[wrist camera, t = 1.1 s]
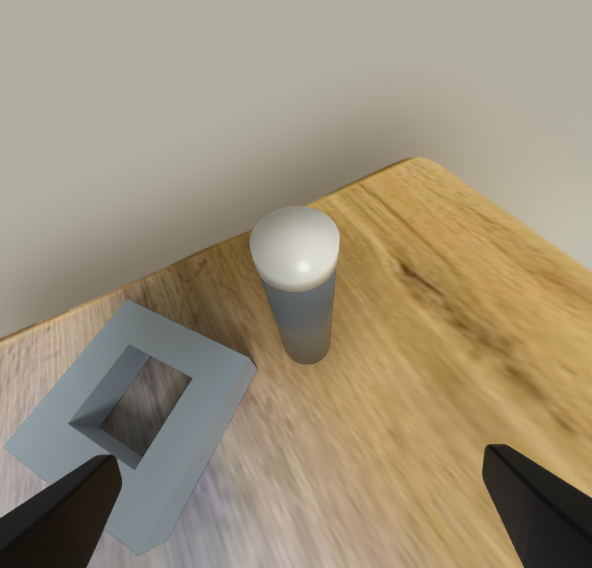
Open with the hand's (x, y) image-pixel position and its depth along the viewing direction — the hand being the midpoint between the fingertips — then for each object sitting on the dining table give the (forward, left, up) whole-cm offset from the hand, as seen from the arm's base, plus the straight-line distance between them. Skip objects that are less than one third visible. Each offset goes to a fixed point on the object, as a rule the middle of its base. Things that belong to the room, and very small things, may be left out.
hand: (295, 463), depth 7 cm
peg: (+7, +3, -13) cm, 16 cm away
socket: (-2, +11, -13) cm, 18 cm away
